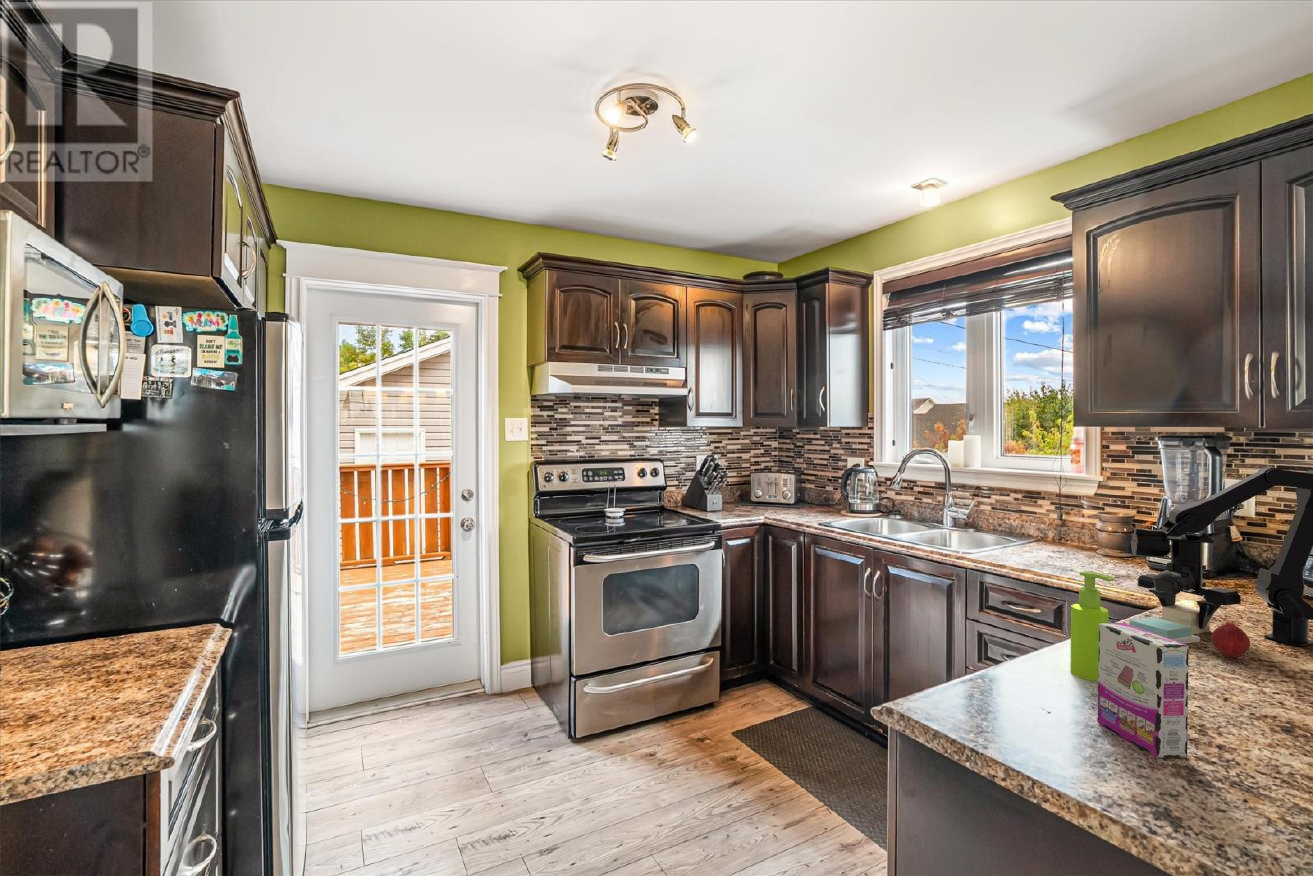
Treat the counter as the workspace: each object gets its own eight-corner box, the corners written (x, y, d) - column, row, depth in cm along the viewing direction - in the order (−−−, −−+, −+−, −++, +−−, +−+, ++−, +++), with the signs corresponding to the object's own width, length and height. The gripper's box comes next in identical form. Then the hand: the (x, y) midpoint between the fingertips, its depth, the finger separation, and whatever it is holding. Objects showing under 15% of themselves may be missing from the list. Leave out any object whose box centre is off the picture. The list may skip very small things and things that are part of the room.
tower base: (1151, 627, 147) (1151, 615, 147) (1199, 641, 137) (1199, 628, 137) (1122, 631, 144) (1122, 619, 144) (1169, 646, 134) (1169, 632, 134)
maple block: (1180, 624, 150) (1180, 604, 150) (1209, 632, 144) (1209, 611, 144) (1162, 627, 148) (1162, 606, 147) (1191, 635, 142) (1191, 613, 142)
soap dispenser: (1103, 685, 113) (1104, 578, 113) (1063, 672, 119) (1065, 570, 119) (1120, 680, 115) (1121, 575, 115) (1080, 667, 122) (1081, 567, 121)
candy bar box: (1190, 758, 88) (1191, 645, 87) (1158, 760, 87) (1159, 646, 87) (1124, 721, 99) (1125, 621, 99) (1095, 723, 98) (1096, 621, 98)
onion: (1257, 665, 123) (1257, 625, 123) (1224, 662, 124) (1224, 623, 124) (1236, 654, 129) (1236, 617, 129) (1204, 652, 130) (1205, 615, 130)
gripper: (1122, 554, 152) (1121, 616, 152) (1209, 570, 134) (1208, 640, 135) (1153, 551, 156) (1152, 612, 156) (1242, 567, 138) (1241, 635, 138)
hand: (1185, 624), depth 146 cm, fingers open, 6 cm apart
